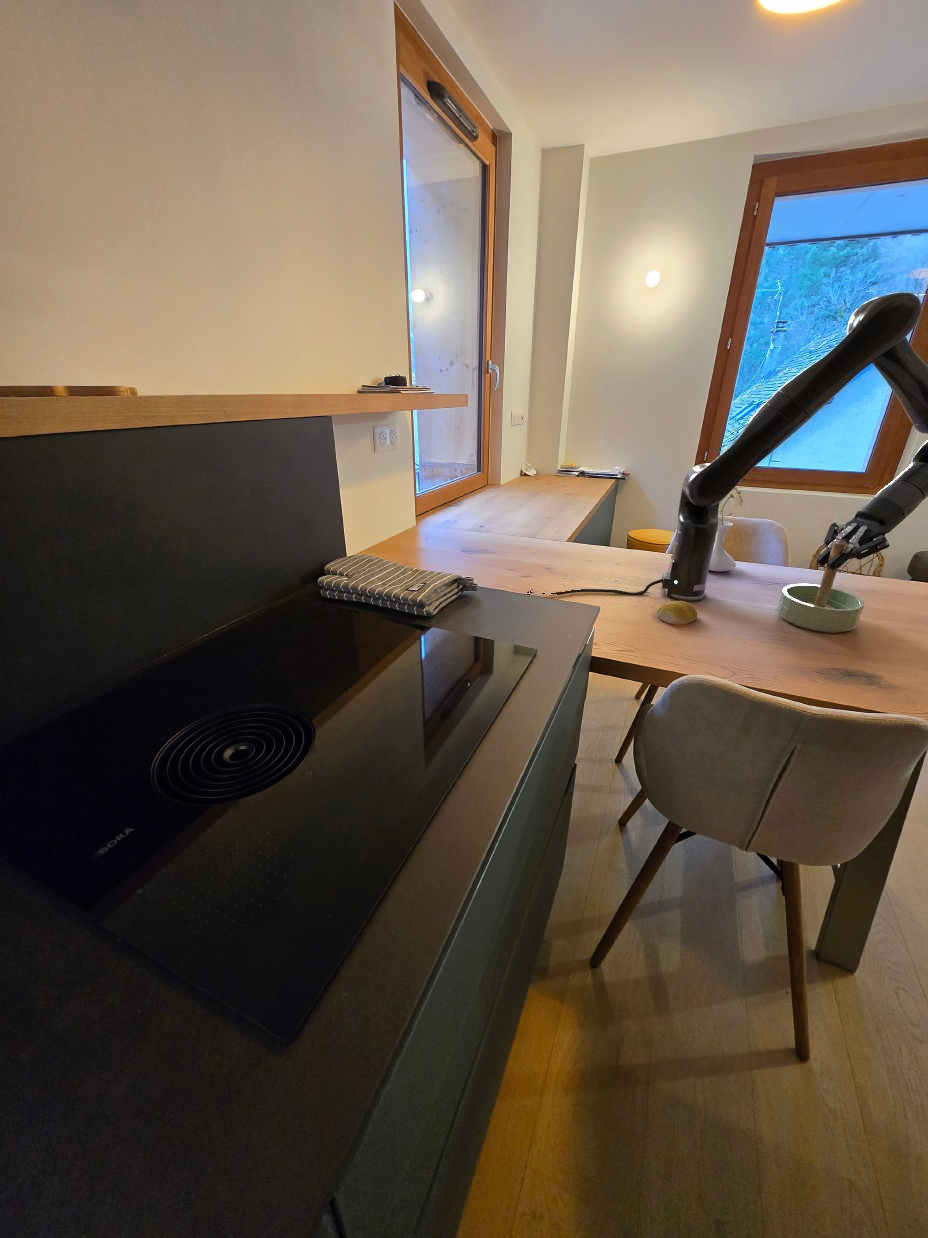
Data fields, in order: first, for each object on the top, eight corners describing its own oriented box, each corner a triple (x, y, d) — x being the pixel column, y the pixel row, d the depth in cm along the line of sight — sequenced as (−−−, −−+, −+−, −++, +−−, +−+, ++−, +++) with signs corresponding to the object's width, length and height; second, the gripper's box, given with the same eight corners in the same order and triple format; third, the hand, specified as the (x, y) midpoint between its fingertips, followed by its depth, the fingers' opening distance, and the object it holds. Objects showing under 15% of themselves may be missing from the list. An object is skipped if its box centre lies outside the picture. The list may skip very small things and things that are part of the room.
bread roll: (702, 619, 117) (705, 603, 116) (679, 628, 113) (682, 612, 111) (672, 607, 124) (675, 592, 122) (649, 616, 119) (651, 600, 118)
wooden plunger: (805, 620, 114) (828, 545, 106) (797, 610, 119) (819, 537, 111) (835, 623, 112) (861, 547, 104) (826, 612, 117) (850, 539, 110)
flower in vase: (737, 576, 142) (758, 488, 131) (694, 572, 146) (711, 486, 135) (731, 562, 153) (750, 480, 142) (692, 558, 157) (707, 478, 146)
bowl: (785, 630, 112) (792, 605, 109) (769, 603, 125) (775, 581, 122) (866, 639, 107) (876, 614, 105) (841, 610, 120) (849, 587, 118)
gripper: (853, 489, 111) (792, 546, 114) (916, 502, 99) (846, 565, 102) (865, 511, 114) (805, 565, 117) (927, 526, 102) (859, 586, 105)
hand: (824, 565), depth 110 cm, fingers closed on wooden plunger, 2 cm apart
